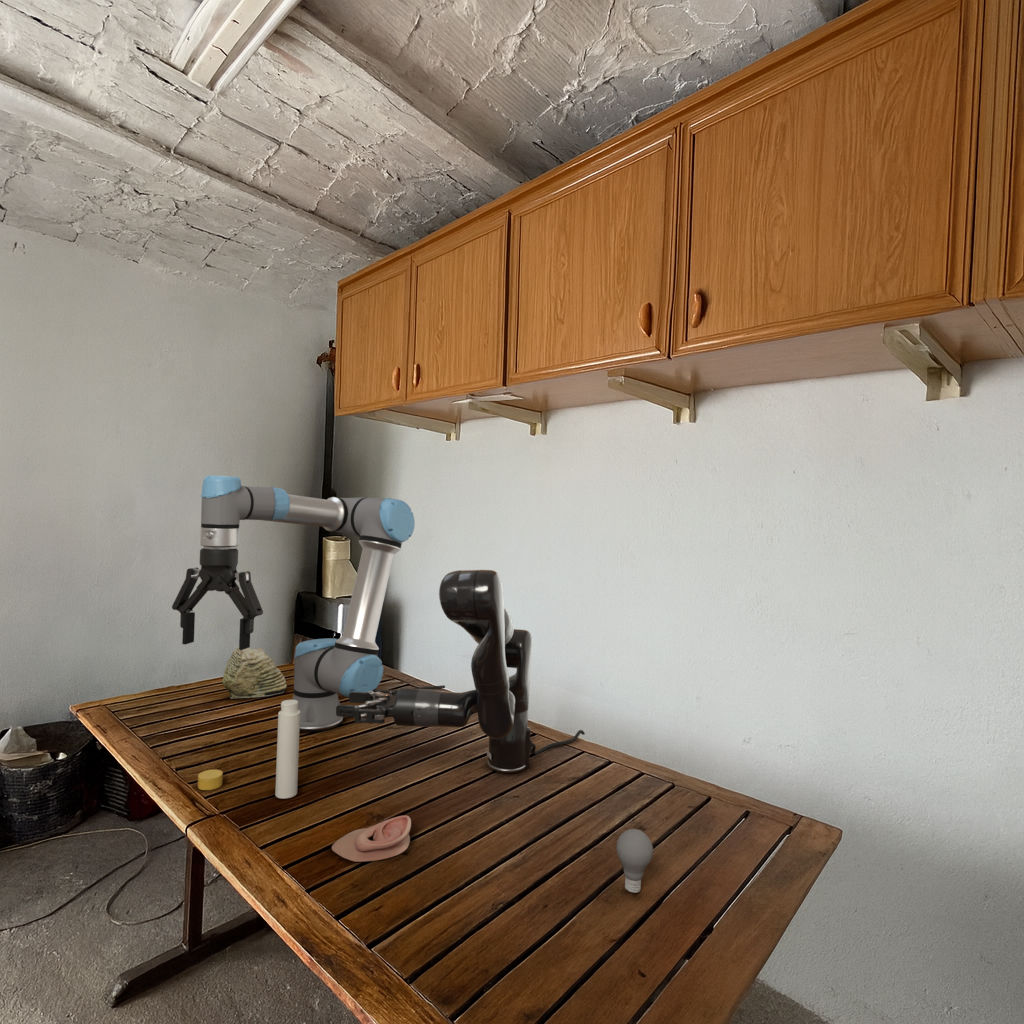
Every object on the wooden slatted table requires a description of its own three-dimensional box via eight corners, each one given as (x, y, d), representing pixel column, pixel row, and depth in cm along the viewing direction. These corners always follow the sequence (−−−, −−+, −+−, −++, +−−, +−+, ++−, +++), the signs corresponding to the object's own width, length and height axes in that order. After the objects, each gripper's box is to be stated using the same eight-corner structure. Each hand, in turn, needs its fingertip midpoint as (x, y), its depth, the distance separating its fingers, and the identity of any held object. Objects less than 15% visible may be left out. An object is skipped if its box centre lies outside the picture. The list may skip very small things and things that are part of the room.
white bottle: (276, 789, 136) (280, 699, 136) (298, 788, 137) (301, 698, 137) (273, 799, 132) (277, 705, 131) (295, 798, 133) (299, 705, 132)
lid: (216, 790, 134) (216, 779, 134) (193, 789, 134) (193, 778, 134) (226, 780, 139) (226, 769, 139) (203, 779, 139) (204, 769, 139)
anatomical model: (323, 834, 111) (353, 804, 123) (323, 856, 111) (352, 824, 123) (394, 845, 109) (418, 814, 120) (393, 868, 109) (417, 834, 120)
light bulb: (610, 879, 108) (613, 822, 108) (644, 879, 109) (647, 822, 109) (619, 902, 102) (622, 840, 102) (655, 901, 103) (658, 840, 103)
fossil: (218, 695, 195) (220, 647, 195) (278, 685, 208) (279, 640, 207) (228, 703, 189) (230, 653, 188) (289, 692, 201) (290, 645, 201)
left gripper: (155, 545, 135) (152, 644, 135) (261, 552, 130) (258, 654, 130) (180, 543, 142) (177, 637, 143) (281, 549, 137) (278, 647, 138)
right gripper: (426, 679, 140) (353, 676, 140) (413, 701, 125) (332, 696, 126) (425, 713, 140) (352, 709, 141) (411, 738, 126) (331, 733, 126)
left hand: (216, 646), depth 136 cm, fingers open, 13 cm apart
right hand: (343, 703), depth 133 cm, fingers open, 8 cm apart
